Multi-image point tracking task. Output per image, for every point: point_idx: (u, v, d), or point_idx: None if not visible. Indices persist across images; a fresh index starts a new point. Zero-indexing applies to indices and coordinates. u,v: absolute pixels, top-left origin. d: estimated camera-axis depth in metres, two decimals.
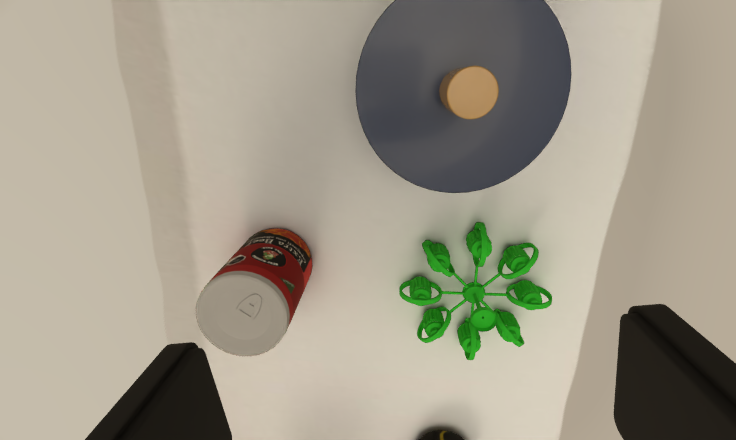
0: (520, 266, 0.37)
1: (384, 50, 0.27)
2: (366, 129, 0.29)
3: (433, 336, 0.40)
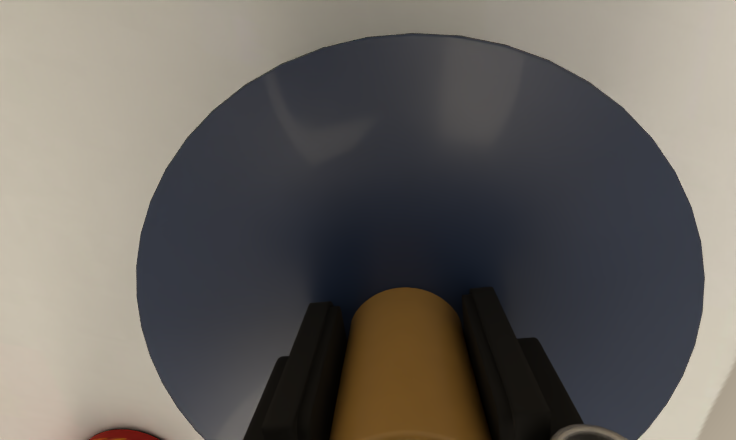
0: None
1: (197, 239, 0.10)
2: (181, 403, 0.12)
3: None
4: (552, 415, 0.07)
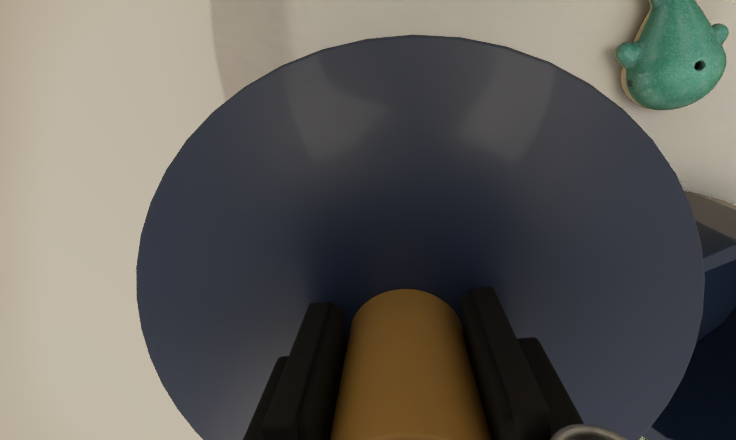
0: None
1: (197, 241, 0.10)
2: (181, 404, 0.12)
3: None
4: (552, 415, 0.07)
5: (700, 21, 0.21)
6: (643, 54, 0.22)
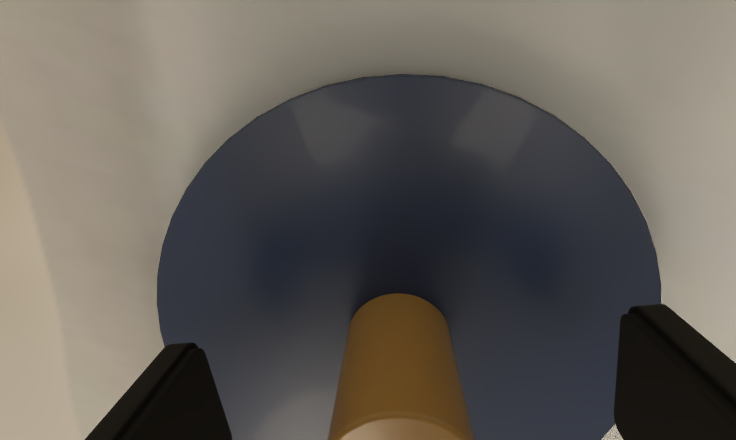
0: None
1: (212, 251, 0.11)
2: None
3: None
4: None
5: None
6: None
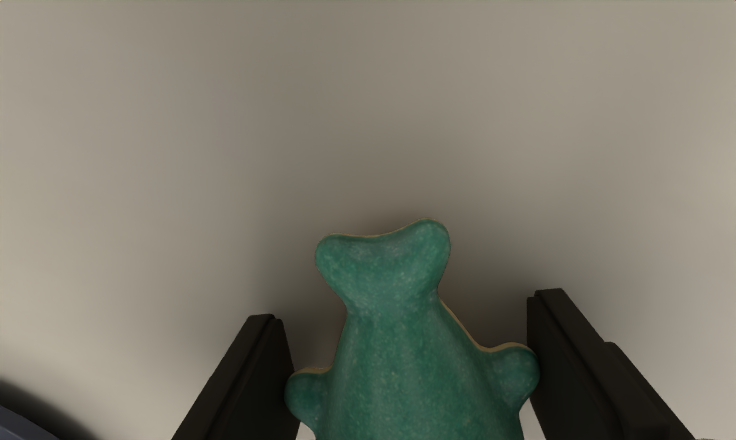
0: None
1: None
2: None
3: None
4: None
5: (430, 398, 0.07)
6: (323, 427, 0.09)
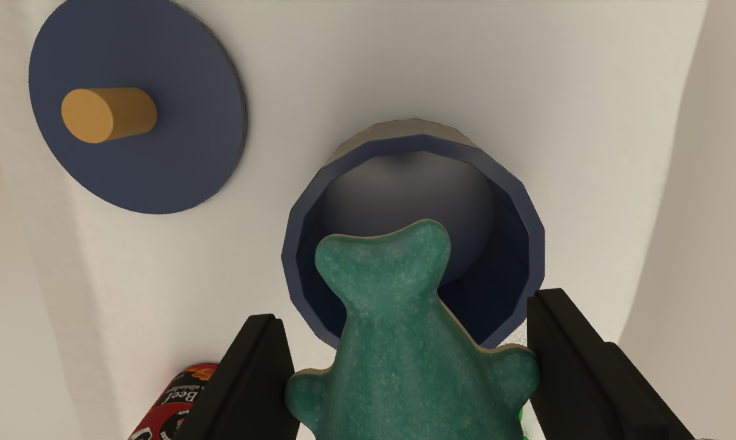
0: None
1: (50, 69, 0.26)
2: (53, 149, 0.28)
3: None
4: None
5: (430, 399, 0.07)
6: (323, 428, 0.09)
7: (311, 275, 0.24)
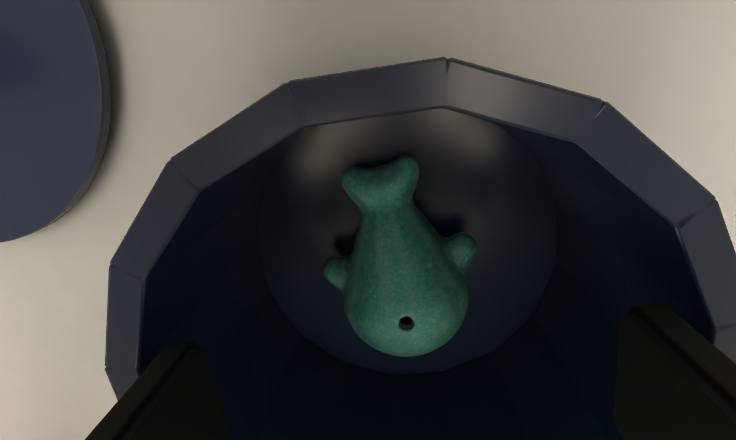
0: None
1: None
2: None
3: None
4: None
5: (408, 251, 0.13)
6: (348, 283, 0.14)
7: None
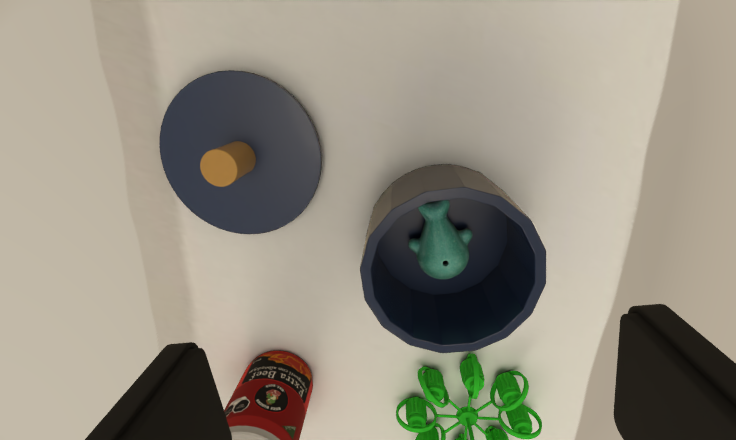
0: (511, 401, 0.39)
1: (177, 127, 0.35)
2: (173, 185, 0.37)
3: None
4: None
5: (446, 235, 0.34)
6: (420, 249, 0.36)
7: (375, 281, 0.33)
